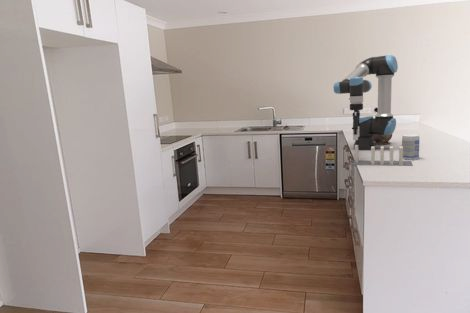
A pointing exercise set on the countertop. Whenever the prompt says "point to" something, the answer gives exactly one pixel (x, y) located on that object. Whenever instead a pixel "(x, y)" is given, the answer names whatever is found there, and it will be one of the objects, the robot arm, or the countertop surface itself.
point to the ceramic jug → (381, 136)
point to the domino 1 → (356, 153)
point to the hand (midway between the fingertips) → (356, 138)
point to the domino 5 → (400, 155)
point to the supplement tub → (410, 146)
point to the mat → (386, 163)
